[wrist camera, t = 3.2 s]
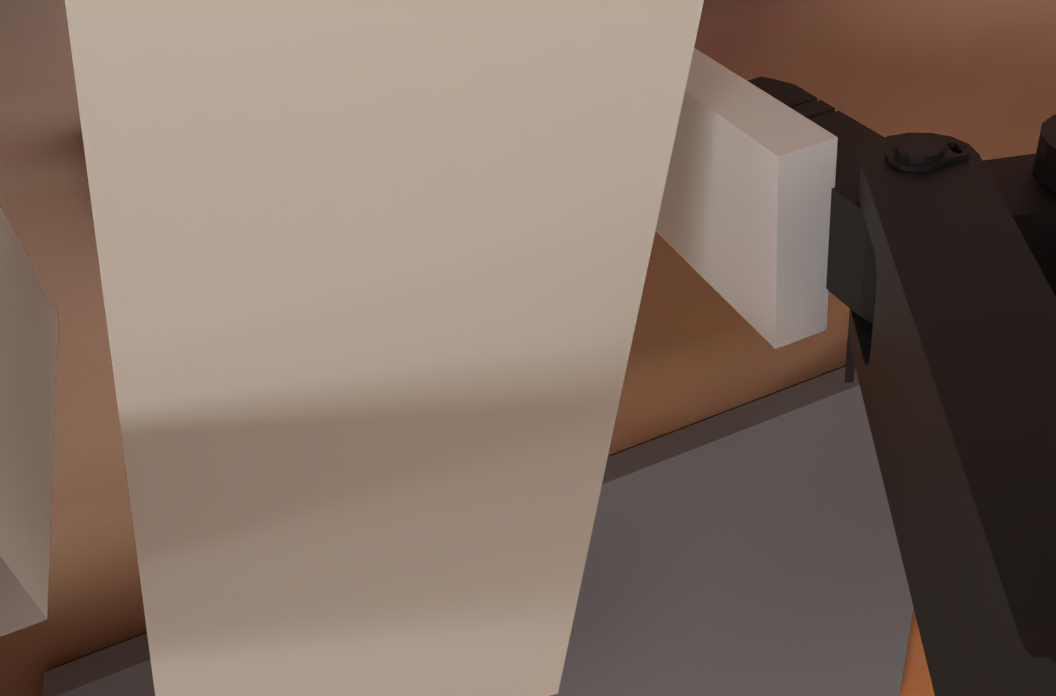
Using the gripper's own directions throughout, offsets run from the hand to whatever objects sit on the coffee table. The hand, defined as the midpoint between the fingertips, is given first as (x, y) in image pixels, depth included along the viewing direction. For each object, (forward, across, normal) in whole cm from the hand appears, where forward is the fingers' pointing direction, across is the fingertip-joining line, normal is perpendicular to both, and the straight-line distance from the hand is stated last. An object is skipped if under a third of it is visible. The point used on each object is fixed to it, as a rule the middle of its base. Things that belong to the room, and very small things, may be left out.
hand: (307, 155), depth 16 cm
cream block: (+2, 0, 0) cm, 2 cm away
